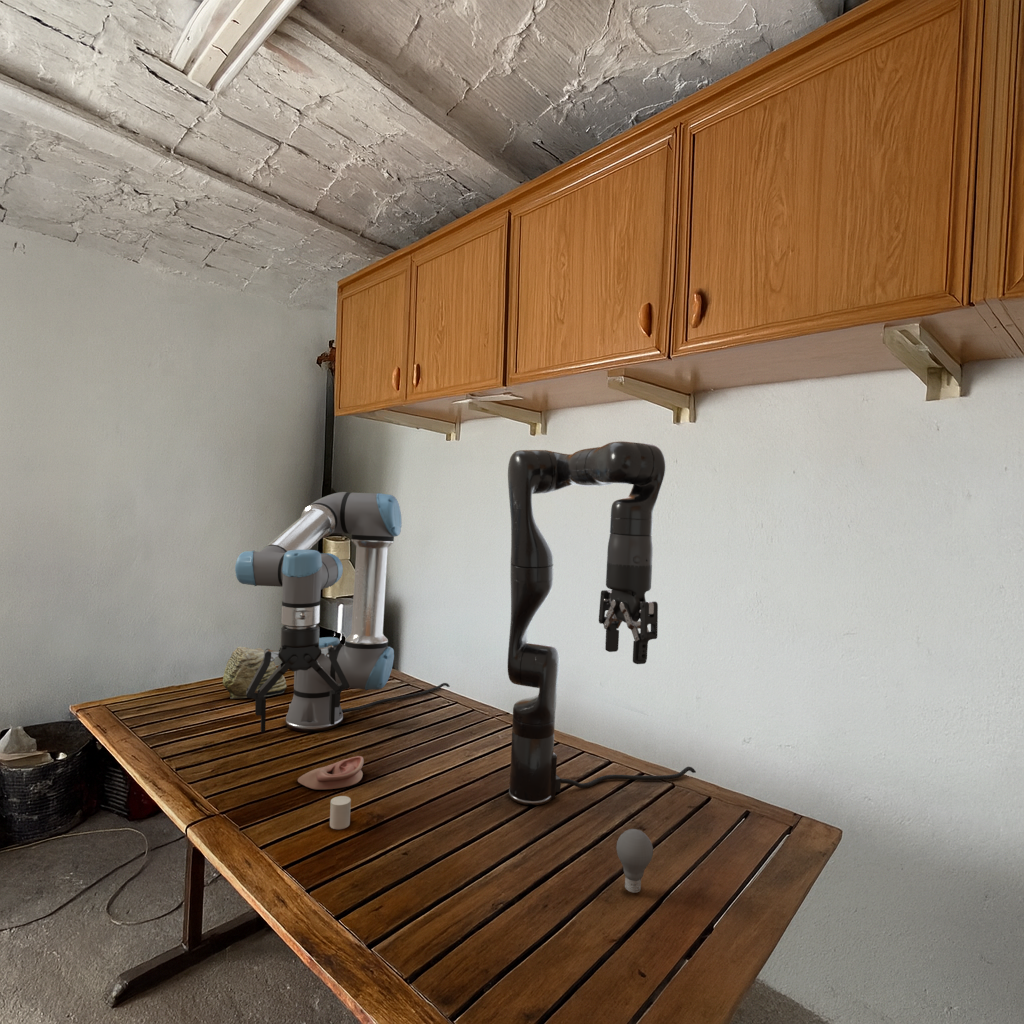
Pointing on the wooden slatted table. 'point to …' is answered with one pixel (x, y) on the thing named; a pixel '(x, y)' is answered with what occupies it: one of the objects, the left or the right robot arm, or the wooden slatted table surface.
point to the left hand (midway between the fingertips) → (298, 726)
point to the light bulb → (634, 857)
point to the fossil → (248, 672)
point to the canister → (340, 812)
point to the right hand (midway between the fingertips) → (624, 657)
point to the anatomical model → (334, 775)
